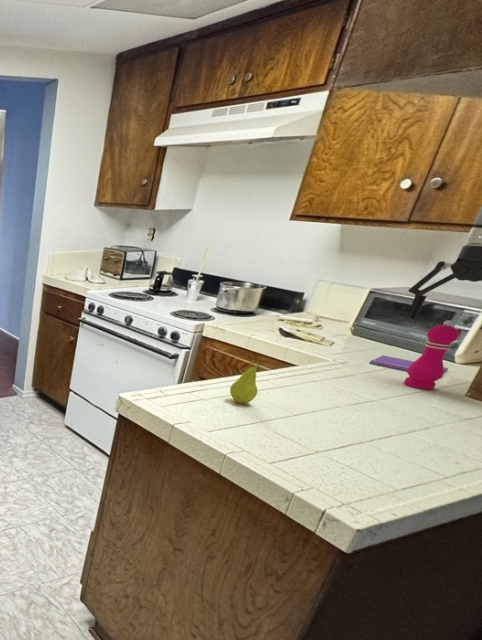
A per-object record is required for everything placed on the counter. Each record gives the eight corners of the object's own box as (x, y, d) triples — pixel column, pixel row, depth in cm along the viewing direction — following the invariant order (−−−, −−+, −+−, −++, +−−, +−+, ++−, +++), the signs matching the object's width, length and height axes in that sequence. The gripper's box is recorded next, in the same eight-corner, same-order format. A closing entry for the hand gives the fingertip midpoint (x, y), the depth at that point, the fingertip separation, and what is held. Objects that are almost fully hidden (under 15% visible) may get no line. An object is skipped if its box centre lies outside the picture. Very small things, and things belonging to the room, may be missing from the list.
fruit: (224, 396, 128) (237, 355, 124) (249, 400, 127) (263, 358, 122) (229, 404, 123) (243, 361, 119) (256, 408, 122) (270, 364, 117)
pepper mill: (407, 380, 144) (437, 316, 136) (440, 388, 138) (473, 322, 130) (396, 383, 141) (426, 318, 133) (429, 392, 135) (463, 324, 127)
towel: (447, 370, 154) (448, 367, 153) (436, 377, 147) (438, 374, 146) (381, 357, 166) (383, 354, 166) (369, 363, 159) (370, 360, 159)
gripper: (415, 241, 132) (383, 315, 140) (560, 250, 113) (513, 335, 121) (422, 241, 136) (391, 313, 144) (563, 249, 116) (518, 332, 125)
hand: (446, 323), depth 132 cm, fingers open, 13 cm apart
